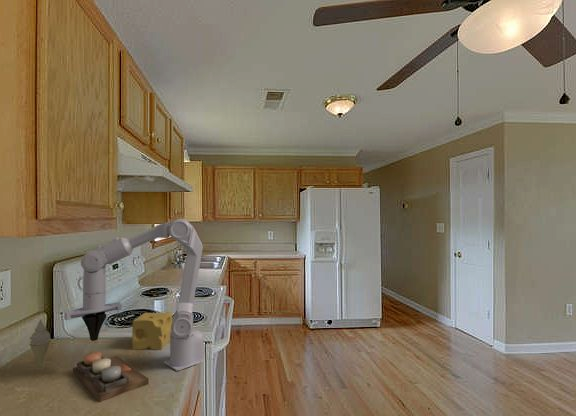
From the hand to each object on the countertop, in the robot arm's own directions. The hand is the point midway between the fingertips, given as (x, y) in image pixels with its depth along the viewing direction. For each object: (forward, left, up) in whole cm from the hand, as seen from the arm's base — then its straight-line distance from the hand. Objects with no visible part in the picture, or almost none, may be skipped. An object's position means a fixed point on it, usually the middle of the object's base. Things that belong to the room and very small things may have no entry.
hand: (93, 339), depth 102 cm
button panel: (-2, +7, -10) cm, 12 cm away
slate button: (0, +14, -6) cm, 15 cm away
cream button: (0, +7, -6) cm, 9 cm away
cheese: (-22, -9, -10) cm, 26 cm away
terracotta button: (0, 0, -6) cm, 6 cm away
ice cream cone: (+10, -13, -10) cm, 19 cm away
